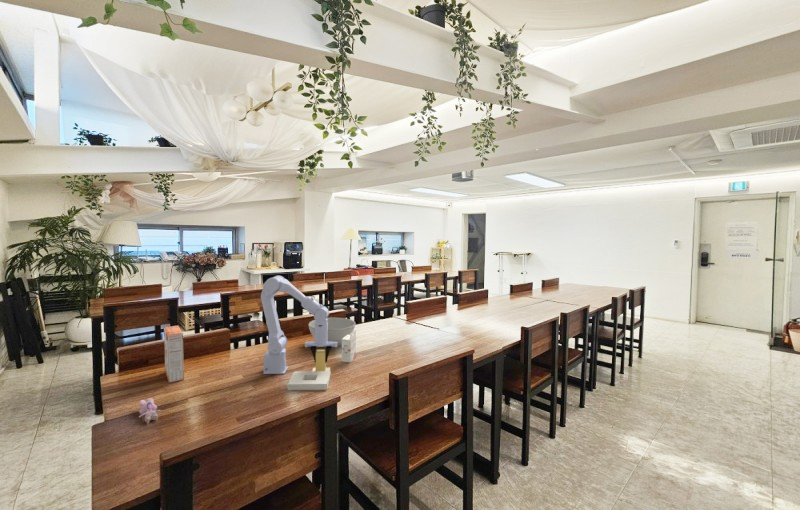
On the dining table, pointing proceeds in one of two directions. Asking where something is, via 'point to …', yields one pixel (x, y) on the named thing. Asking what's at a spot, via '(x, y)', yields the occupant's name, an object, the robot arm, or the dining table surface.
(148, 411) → the pink toy figurine
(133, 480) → the dining table surface
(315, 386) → the holder
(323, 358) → the block
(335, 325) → the decorative bowl
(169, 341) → the cracker box
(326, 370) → the mat
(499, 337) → the dining table surface
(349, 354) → the ink cartridge box
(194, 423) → the dining table surface
